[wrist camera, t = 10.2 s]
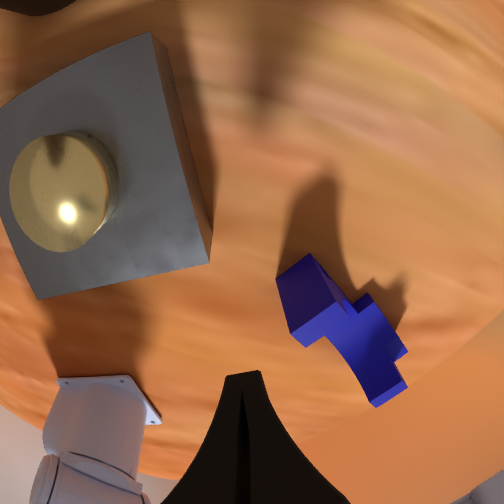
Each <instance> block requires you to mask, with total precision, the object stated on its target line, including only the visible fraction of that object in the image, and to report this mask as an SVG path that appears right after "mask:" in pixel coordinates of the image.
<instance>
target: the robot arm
mask: <svg viewBox="0 0 504 504" xmlns="http://www.w3.org/2000/svg"><path fill="white" fill-rule="evenodd" d="M56 382H57V384H58V385H59V386H60V389H59V391H58V394H57V396H56V398H55V401H54V403H53V405H52V408H51V410H50V412H49V415H48V417H47V420H46V422H45V425H44V428H43V444H44V448H45V451H46V453H47V454H48V455H46V456H44V457H43V459H42V461H41V463H40V465H39V468H38V471H37V474H36V476H35V479H34V483H33V486H32V490H31V495H30V501H29V504H151V502H150V500H149V498H148V496H147V495H146V494H144V493H142V492H141V491H142V484H141V483H138V482H137V481H136V477H137V471H138V464H139V458H140V451H141V445H142V439H143V434H144V428H145V425H153V424H161V423H162V419H161V418H160V416H159V415H158V414H157V412H156V411H155V410H154V408H153V407H152V406H151V404H150V403H149V402H148V400H147V399H146V398H145V396H144V395H143V393H142V392H141V391H140V389H139V388H138V386H137V385H136V383H135V382H134V381H133V379H132V378H131V377H130V376H129V375H116V376H100V377H78V378H58V379H57V381H56ZM161 504H350V502H349V501H348V500H347V499H346V497H345V496H344V495H343V494H342V493H340V492H339V491H338V490H337V489H336V488H335V487H334V486H333V485H332V484H331V483H330V482H328V481H327V479H326V478H325V477H324V476H323V475H321V473H319V471H318V470H317V469H316V468H315V467H314V466H313V465H312V463H311V462H309V460H308V459H307V458H306V457H305V455H304V454H303V453H302V452H301V450H300V449H299V448H298V447H297V445H296V444H295V442H294V441H293V440H292V438H291V437H290V435H289V434H288V432H287V431H286V429H285V428H284V426H283V424H282V423H281V421H280V419H279V418H278V416H277V414H276V412H275V410H274V408H273V406H272V404H271V402H270V400H269V398H268V394H267V391H266V388H265V384H264V381H263V378H262V374H261V371H258V370H255V371H250V372H244V373H239V374H233V375H227V376H226V377H225V382H224V386H223V390H222V394H221V397H220V400H219V404H218V407H217V409H216V412H215V415H214V418H213V420H212V423H211V425H210V428H209V430H208V432H207V435H206V437H205V439H204V441H203V443H202V445H201V447H200V449H199V451H198V453H197V455H196V456H195V458H194V460H193V461H192V463H191V465H190V466H189V468H188V469H187V471H186V473H185V474H184V475H183V477H182V478H181V480H180V481H179V483H178V484H177V485H176V486H175V487H174V489H173V490H172V491H171V492H170V494H169V495H168V496H167V497H166V498H165V499H164V501H163V502H162V503H161ZM451 504H504V470H501V471H499V472H498V473H496V474H495V475H493V476H492V477H490V478H489V479H487V480H486V481H484V482H483V483H481V484H480V485H478V486H477V487H476V488H474V489H473V490H472V491H471V492H470V493H468V494H467V495H465V496H463V497H462V498H460V499H458V500H456V501H454V502H453V503H451Z"/></svg>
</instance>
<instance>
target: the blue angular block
mask: <svg viewBox="0 0 504 504" xmlns="http://www.w3.org/2000/svg"><path fill="white" fill-rule="evenodd" d="M275 280H276V283H277V287H278V291H279V294H280V298H281V302H282V305H283V309H284V313H285V317H286V320H287V324H288V328H289V331H290V334H291V335H292V336H293V337H294V338H295V339H296V340H297V341H299V342H300V343H301V344H302V345H303V346H304V347H305V348H306V347H308V346H309V345H311V344H312V343H314V342H315V341H317V340H318V339H320V338H321V337H323V336H324V335H325V336H326V337H327V338H328V339H329V340H330V342H331V343H332V344H333V345H334V346H335V347H336V349H337V350H338V351H339V352H340V354H341V355H342V356H343V358H344V359H345V360H346V362H347V363H348V365H349V366H350V368H351V369H352V371H353V372H354V374H355V376H356V377H357V379H358V381H359V382H360V384H361V386H362V388H363V390H364V392H365V394H366V396H367V398H368V401H369V402H370V403H371V404H372V405H373V406H374V407H376V408H377V407H379V406H380V405H382V404H383V403H385V402H387V401H388V400H390V399H391V398H393V397H394V396H396V395H397V394H399V393H400V392H402V391H403V390H405V389H406V388H408V387H407V385H406V383H405V381H404V379H403V378H402V376H401V374H400V372H399V370H398V369H397V367H396V365H395V363H394V362H395V361H396V360H398V359H399V358H400V357H402V356H403V355H405V354H406V353H407V352H408V351H407V349H406V347H405V346H404V344H403V343H402V341H401V340H400V338H399V337H398V335H397V333H396V332H395V330H394V329H393V328H392V326H391V325H390V323H389V322H388V320H387V319H386V317H385V316H384V315H383V313H382V312H381V310H380V309H379V308H378V306H377V305H376V303H375V302H374V301H373V299H372V298H371V296H370V295H369V294H368V293H366V294H365V295H364V296H362V297H361V298H360V299H358V300H357V301H356V302H354V303H353V304H352V303H351V302H350V301H349V299H348V298H347V297H346V296H345V294H344V293H343V292H342V291H341V289H340V288H339V287H338V286H337V285H336V283H335V282H334V281H333V280H332V279H331V277H330V276H329V275H328V274H327V273H326V271H325V270H324V269H323V268H322V267H321V265H320V264H319V263H318V262H317V261H316V259H315V258H314V257H313V256H312V255H311V254H310V253H309V254H308V255H306V256H305V257H304V258H302V259H301V260H300V261H299V262H297V263H296V264H295V265H293V266H292V267H291V268H290V269H288V270H287V271H286V272H284V273H283V274H282V275H280V276H279V277H278V278H277V279H275Z"/></svg>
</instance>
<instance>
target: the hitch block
mask: <svg viewBox="0 0 504 504" xmlns="http://www.w3.org/2000/svg"><path fill="white" fill-rule="evenodd" d="M69 131H76V132H81V133H85V134H87V135H90V136H91V137H93V138H95V139H96V140H97V141H98V142H100V143H101V144H102V146H103V147H104V148H105V149H106V150H107V152H108V153H109V155H110V157H111V159H112V161H113V163H114V166H115V169H116V173H117V179H118V194H117V200H116V204H115V207H114V210H113V212H112V214H111V216H110V217H109V219H108V220H107V221H106V223H105V224H104V225H103V226H102V227H101V228H100V229H99V230H98V231H97V232H96V233H95V234H94V235H93V236H92V237H91V238H90V239H89V240H88V241H87V242H86V243H85V244H84V245H82V246H80V247H79V248H77V249H75V250H72V251H68V252H54V251H50V250H47V249H44V248H42V247H41V246H39V245H37V244H36V243H34V242H33V241H32V240H31V239H30V238H29V237H28V236H27V235H26V234H25V233H24V232H23V230H22V229H21V227H20V226H19V224H18V222H17V220H16V218H15V216H14V213H13V210H12V206H11V202H10V195H9V184H10V176H11V172H12V168H13V165H14V163H15V161H16V159H17V157H18V155H19V154H20V152H21V151H22V150H23V149H24V148H25V147H26V146H27V145H28V144H29V143H31V142H32V141H33V140H35V139H37V138H40V137H43V136H47V135H52V134H57V133H62V132H69ZM0 217H1V219H2V222H3V225H4V227H5V230H6V233H7V235H8V238H9V240H10V242H11V245H12V247H13V250H14V252H15V254H16V256H17V259H18V261H19V263H20V265H21V267H22V269H23V271H24V274H25V276H26V278H27V280H28V282H29V284H30V286H31V288H32V290H33V291H34V293H35V295H36V297H37V299H38V300H41V299H45V298H50V297H54V296H59V295H64V294H68V293H73V292H78V291H82V290H87V289H92V288H96V287H101V286H105V285H110V284H115V283H119V282H124V281H128V280H133V279H138V278H142V277H147V276H152V275H156V274H161V273H165V272H170V271H175V270H179V269H184V268H188V267H193V266H197V265H202V264H207V263H209V261H210V253H211V244H212V236H213V233H212V229H211V225H210V222H209V218H208V215H207V211H206V207H205V203H204V200H203V196H202V192H201V188H200V185H199V181H198V177H197V173H196V169H195V165H194V161H193V158H192V154H191V150H190V146H189V142H188V138H187V134H186V130H185V126H184V121H183V117H182V113H181V109H180V105H179V101H178V96H177V92H176V88H175V83H174V79H173V75H172V70H171V66H170V61H169V57H168V52H167V48H166V47H165V46H164V45H163V44H162V43H161V42H160V41H159V40H158V39H157V38H156V37H155V36H154V35H153V34H152V33H151V32H147V33H144V34H141V35H139V36H136V37H133V38H130V39H128V40H125V41H123V42H120V43H117V44H115V45H113V46H110V47H108V48H105V49H103V50H101V51H99V52H96V53H94V54H92V55H90V56H88V57H86V58H83V59H81V60H79V61H77V62H75V63H73V64H71V65H69V66H67V67H66V68H64V69H62V70H60V71H58V72H56V73H54V74H53V75H51V76H49V77H47V78H46V79H44V80H42V81H41V82H39V83H37V84H36V85H34V86H32V87H31V88H29V89H28V90H26V91H24V92H23V93H21V94H20V95H18V96H17V97H15V98H14V99H12V100H11V101H10V102H8V103H7V104H5V105H4V106H3V107H1V108H0Z"/></svg>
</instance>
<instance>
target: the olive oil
mask: <svg viewBox="0 0 504 504" xmlns="http://www.w3.org/2000/svg"><path fill="white" fill-rule="evenodd" d="M74 1H76V0H0V8H2V9H6V10H10V11H13V12H17V13H21V14H24V15H29V16H40V15H45V14H49V13H52V12H55V11H57V10H60V9H62V8H64V7H66V6H67V5H69V4H71V3H72V2H74Z"/></svg>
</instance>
